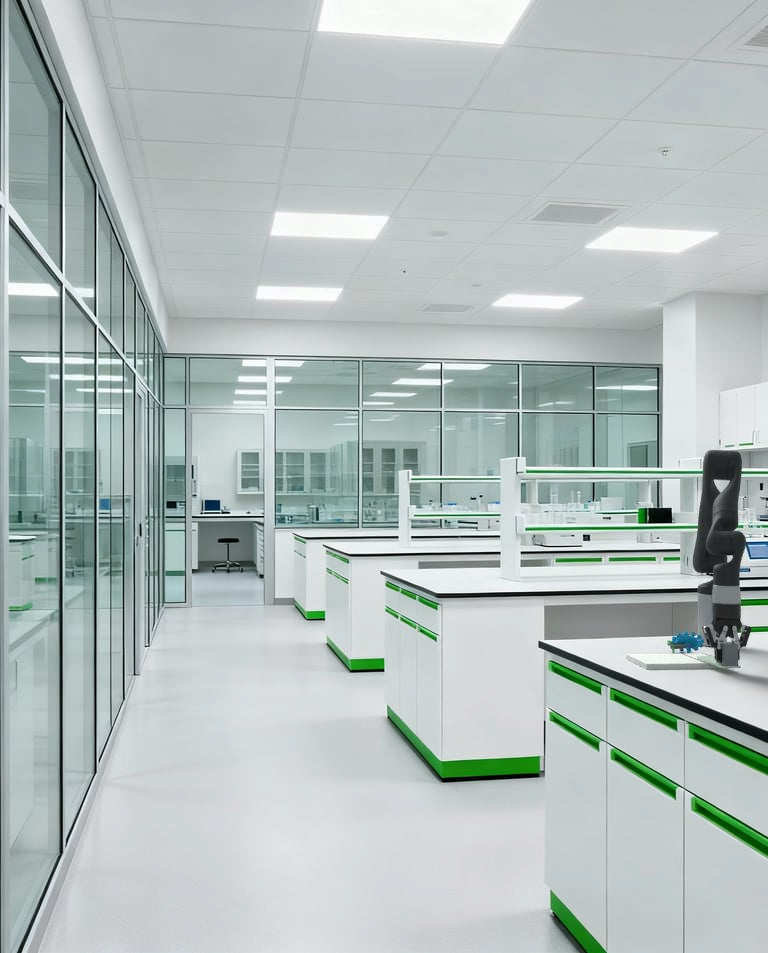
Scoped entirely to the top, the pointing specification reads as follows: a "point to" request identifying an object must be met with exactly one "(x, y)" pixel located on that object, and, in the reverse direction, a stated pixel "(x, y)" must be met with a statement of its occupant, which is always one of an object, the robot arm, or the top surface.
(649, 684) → the top surface
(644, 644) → the top surface
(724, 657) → the stub
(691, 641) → the gear
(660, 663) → the ticket board
